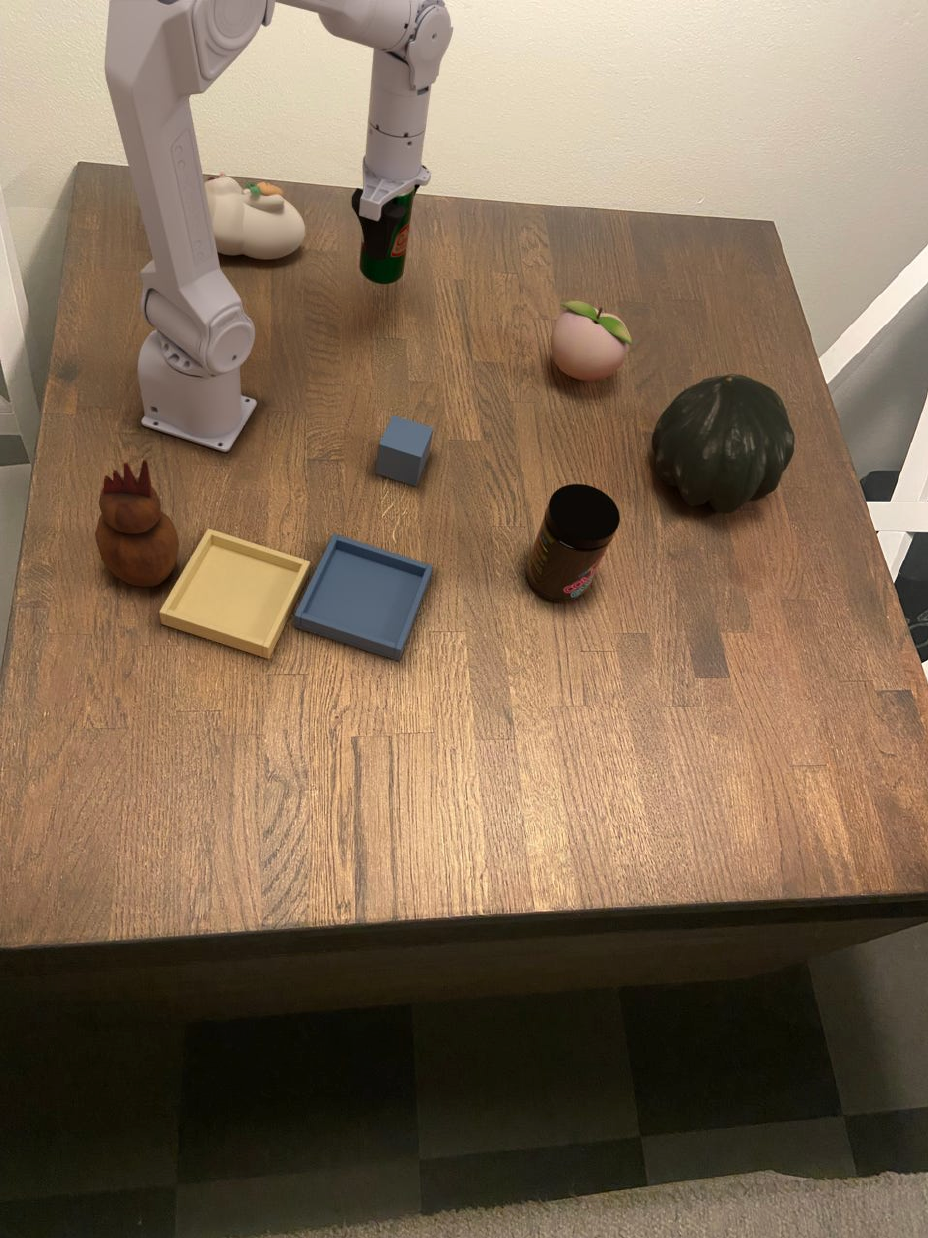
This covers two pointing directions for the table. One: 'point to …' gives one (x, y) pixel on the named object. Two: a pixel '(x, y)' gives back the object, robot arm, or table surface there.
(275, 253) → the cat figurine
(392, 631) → the blue tray
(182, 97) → the robot arm
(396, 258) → the soda can
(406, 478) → the blue block
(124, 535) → the wooden figurine
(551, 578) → the supplement container
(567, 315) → the decorative fruit
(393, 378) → the table surface
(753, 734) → the table surface
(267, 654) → the cream tray
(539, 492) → the table surface
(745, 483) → the squash
